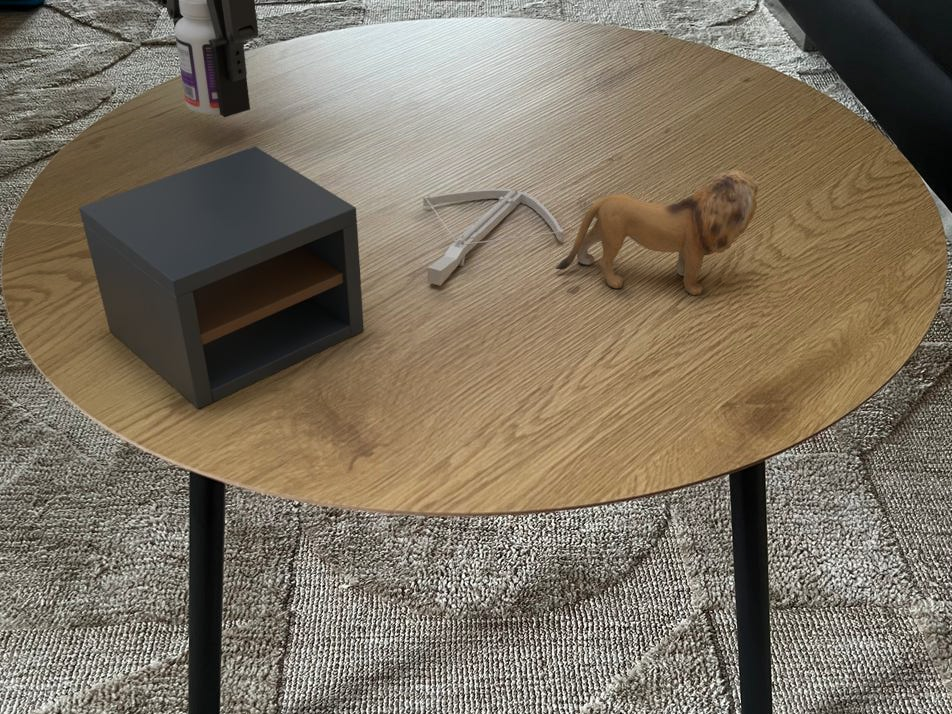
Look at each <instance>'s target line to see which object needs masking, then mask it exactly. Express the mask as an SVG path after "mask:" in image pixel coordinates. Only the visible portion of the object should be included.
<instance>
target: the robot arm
mask: <svg viewBox="0 0 952 714" xmlns="http://www.w3.org/2000/svg"><path fill="white" fill-rule="evenodd" d="M155 1H156V3H157V5H158V6H160V7H162V6H165V7H166V12H167V14H168V17H169V18H170V19H172V20H173V29H175V26H176V23H177V22H178V21H179V20H180V19H181V18H183V17H184V16H182V15H181V13H180V6H179V0H155ZM206 1H207V5H208V9H209V13H210V17H211V21H212V24H213V28H214V32H215V36H216V38H215V39H211V40H209V43H210V45H211V48H212V56H213V63H214V71H215V78H216V86H217V94H218V101H219V109H220V115H221V116H222V117H223V118H228V117H231V116H234V115H237V114H240V113H243V112H246V111H250V110H251V104H250V96H249V86H248V78H247V75H248V72H247V71H248V70H247V63H246V55H245V46H244V44H245V42H246V41H250V40H254V39H257V38H258V37H259V26H258V19H257V18H258V17H257V12H256V11H257V9H256V3H255V2H256V1H255V0H206ZM225 28H226V29H225ZM220 115H219V116H220Z"/></svg>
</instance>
